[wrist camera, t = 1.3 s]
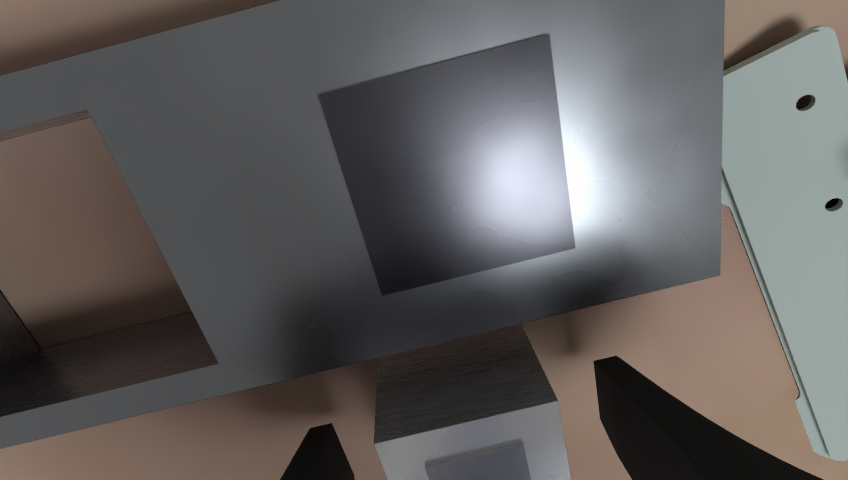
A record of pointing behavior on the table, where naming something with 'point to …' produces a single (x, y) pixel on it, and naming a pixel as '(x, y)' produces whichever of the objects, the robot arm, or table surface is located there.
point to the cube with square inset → (469, 412)
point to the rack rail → (378, 184)
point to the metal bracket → (796, 212)
